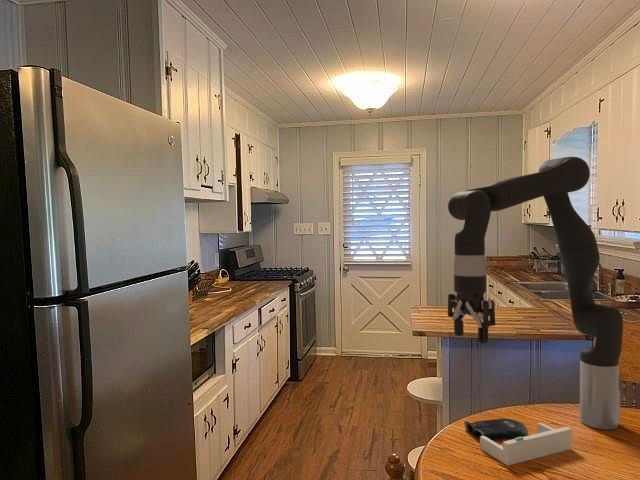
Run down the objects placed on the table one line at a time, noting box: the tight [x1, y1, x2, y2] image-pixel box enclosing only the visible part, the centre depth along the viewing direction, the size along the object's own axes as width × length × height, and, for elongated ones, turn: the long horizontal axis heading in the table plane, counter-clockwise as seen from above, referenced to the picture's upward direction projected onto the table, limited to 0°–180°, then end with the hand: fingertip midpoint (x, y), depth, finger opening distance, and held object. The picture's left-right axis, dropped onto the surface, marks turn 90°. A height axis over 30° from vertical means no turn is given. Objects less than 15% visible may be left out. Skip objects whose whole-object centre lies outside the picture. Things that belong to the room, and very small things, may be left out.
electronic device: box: [463, 418, 529, 441], centre depth 126 cm, size 9×6×15 cm
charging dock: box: [479, 422, 573, 466], centre depth 118 cm, size 20×9×6 cm, turn 112°
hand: (470, 339), depth 116 cm, fingers open, 8 cm apart
